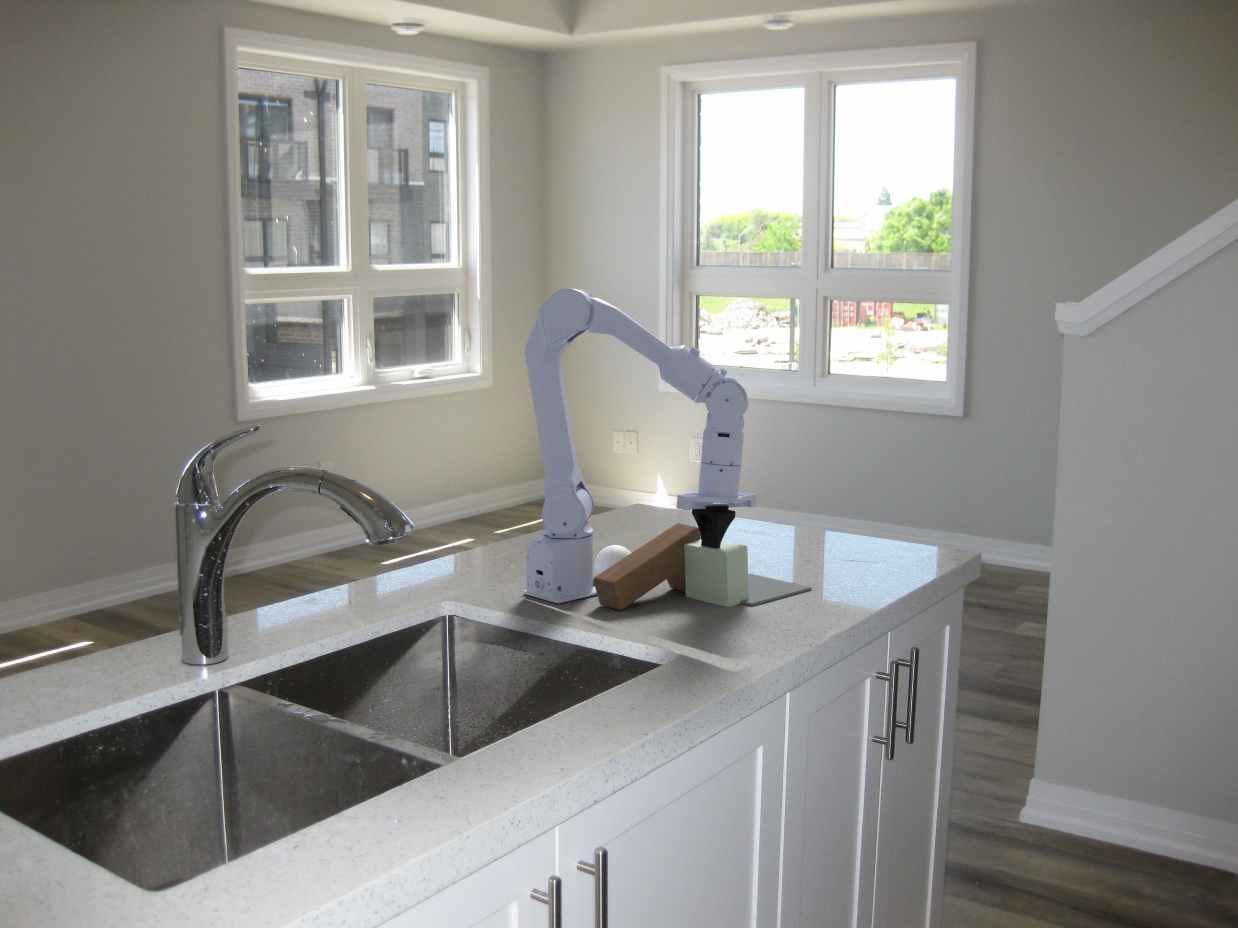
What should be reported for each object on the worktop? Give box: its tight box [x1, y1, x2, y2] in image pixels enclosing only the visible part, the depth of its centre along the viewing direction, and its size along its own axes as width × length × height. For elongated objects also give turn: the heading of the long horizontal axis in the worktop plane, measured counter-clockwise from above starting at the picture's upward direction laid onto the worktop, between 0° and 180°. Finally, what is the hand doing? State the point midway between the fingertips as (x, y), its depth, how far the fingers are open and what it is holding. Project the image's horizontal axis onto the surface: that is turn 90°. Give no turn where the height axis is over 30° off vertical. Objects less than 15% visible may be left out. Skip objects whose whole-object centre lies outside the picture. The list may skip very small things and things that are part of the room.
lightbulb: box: [594, 544, 632, 576], centre depth 177 cm, size 6×6×11 cm
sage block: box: [684, 539, 749, 608], centre depth 165 cm, size 4×8×8 cm, turn 44°
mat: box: [739, 572, 813, 607], centre depth 171 cm, size 14×12×1 cm
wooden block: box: [593, 523, 701, 611], centre depth 165 cm, size 9×4×18 cm
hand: (712, 558), depth 164 cm, fingers closed, pressing on sage block
